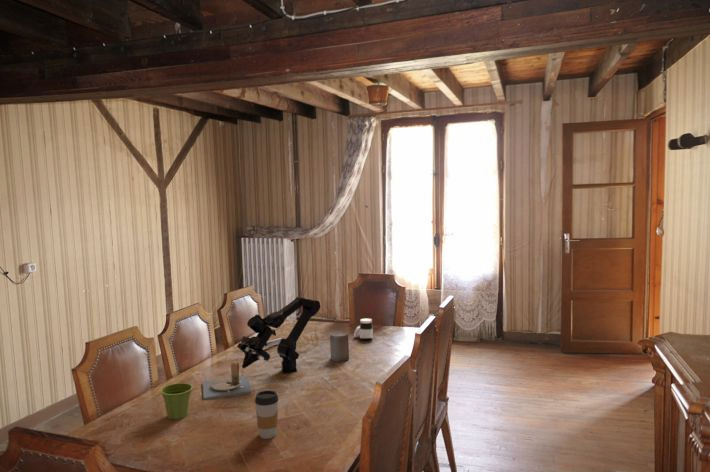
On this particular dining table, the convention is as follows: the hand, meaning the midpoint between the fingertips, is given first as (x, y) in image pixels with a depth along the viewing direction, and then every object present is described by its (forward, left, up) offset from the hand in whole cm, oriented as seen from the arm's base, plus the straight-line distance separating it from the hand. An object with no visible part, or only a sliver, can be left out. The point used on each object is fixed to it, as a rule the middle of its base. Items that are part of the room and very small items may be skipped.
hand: (242, 367), depth 220 cm
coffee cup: (-3, +49, -9) cm, 50 cm away
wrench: (-19, -51, -9) cm, 55 cm away
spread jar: (-75, -50, -9) cm, 91 cm away
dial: (+7, -1, -7) cm, 11 cm away
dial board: (+7, -1, -9) cm, 11 cm away
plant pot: (+27, +21, -9) cm, 36 cm away
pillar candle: (-51, -20, -9) cm, 56 cm away
